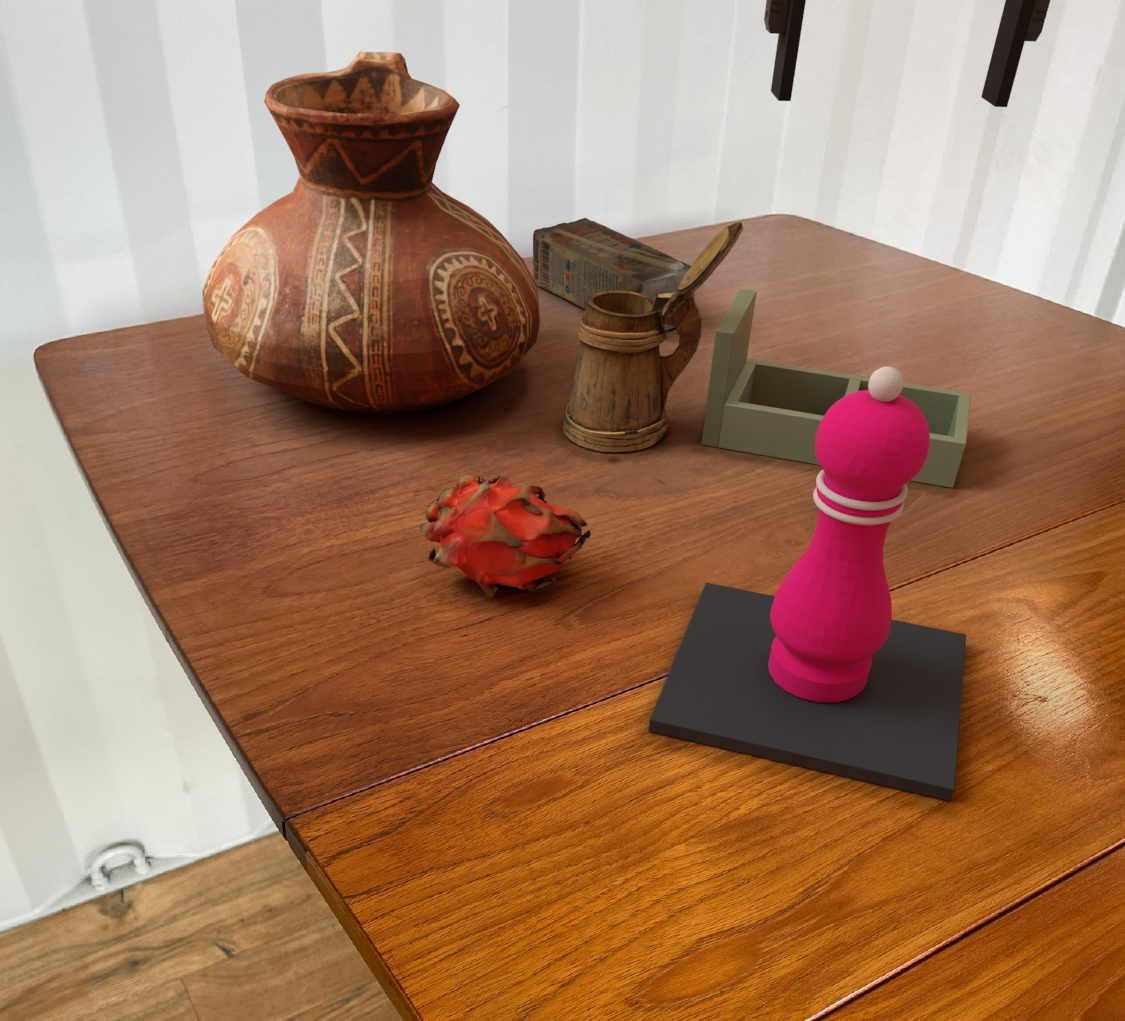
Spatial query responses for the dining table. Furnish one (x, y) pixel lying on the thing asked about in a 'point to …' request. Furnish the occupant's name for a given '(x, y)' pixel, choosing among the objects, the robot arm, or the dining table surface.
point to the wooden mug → (635, 358)
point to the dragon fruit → (501, 533)
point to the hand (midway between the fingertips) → (887, 100)
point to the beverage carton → (600, 263)
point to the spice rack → (808, 403)
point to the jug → (369, 257)
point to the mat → (812, 729)
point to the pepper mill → (848, 544)
